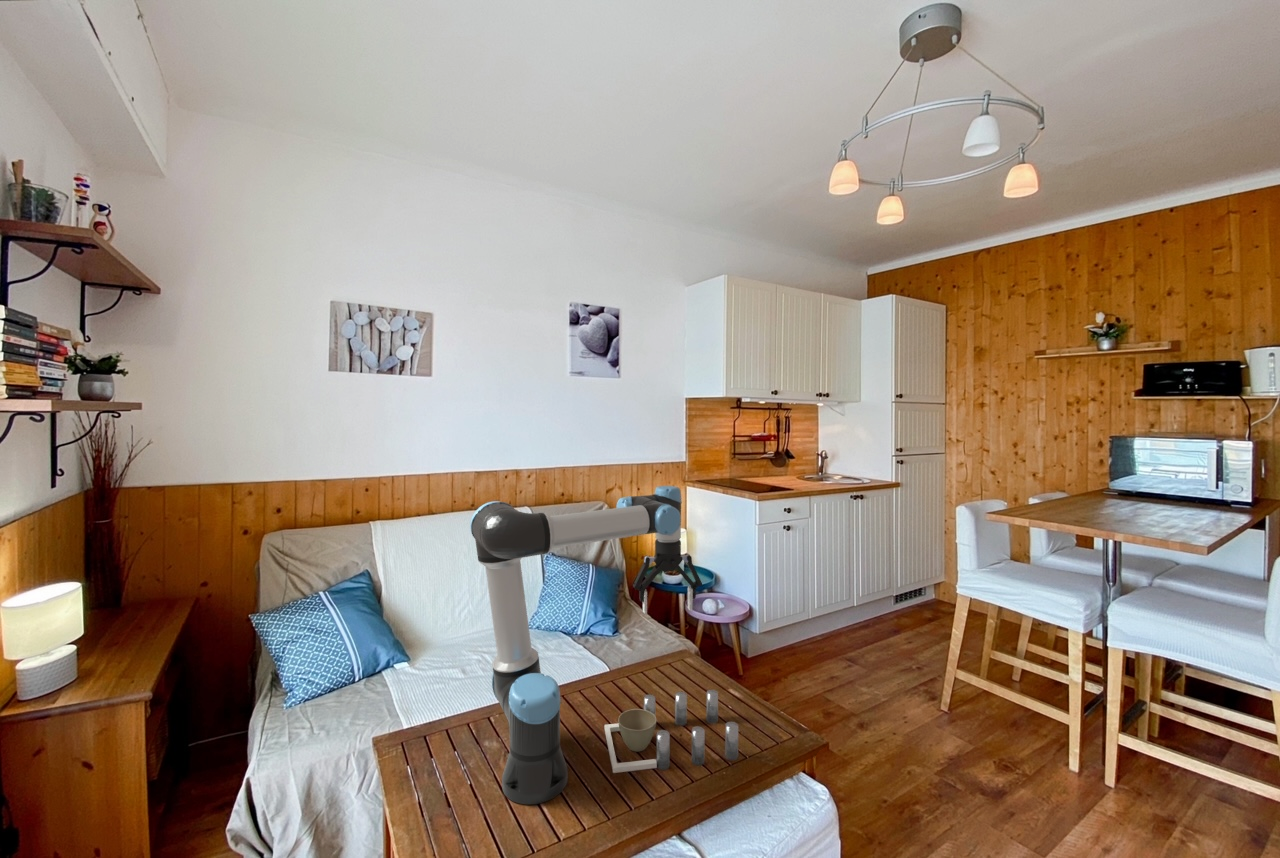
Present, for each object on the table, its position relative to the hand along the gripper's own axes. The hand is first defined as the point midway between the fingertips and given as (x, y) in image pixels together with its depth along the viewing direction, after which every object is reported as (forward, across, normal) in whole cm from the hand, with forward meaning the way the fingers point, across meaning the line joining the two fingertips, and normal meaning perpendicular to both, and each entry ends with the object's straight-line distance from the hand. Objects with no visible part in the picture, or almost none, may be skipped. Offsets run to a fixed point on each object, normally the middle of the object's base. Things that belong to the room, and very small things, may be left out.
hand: (667, 611), depth 159 cm
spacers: (+29, +2, -17) cm, 33 cm away
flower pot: (+29, -12, -17) cm, 35 cm away
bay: (+29, -14, -17) cm, 36 cm away
